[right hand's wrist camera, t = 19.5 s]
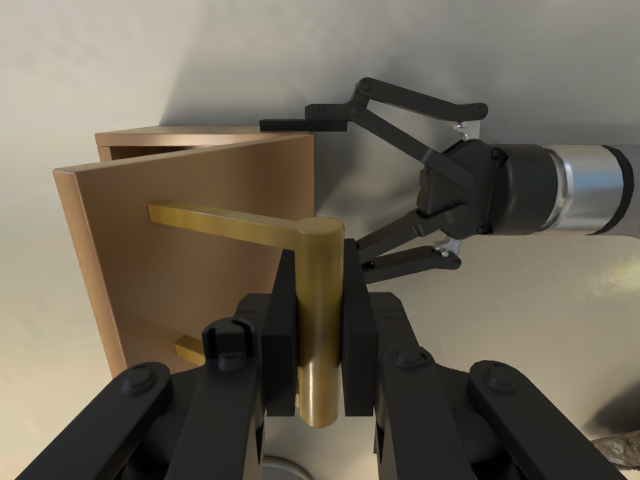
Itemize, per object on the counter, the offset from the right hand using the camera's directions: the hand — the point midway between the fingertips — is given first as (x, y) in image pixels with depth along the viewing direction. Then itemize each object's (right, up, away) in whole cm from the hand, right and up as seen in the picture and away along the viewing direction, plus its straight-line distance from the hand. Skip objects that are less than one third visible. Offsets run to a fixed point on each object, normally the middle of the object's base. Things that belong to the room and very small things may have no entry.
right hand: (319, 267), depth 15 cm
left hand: (-4, +5, +14) cm, 15 cm away
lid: (-5, +1, +3) cm, 6 cm away
